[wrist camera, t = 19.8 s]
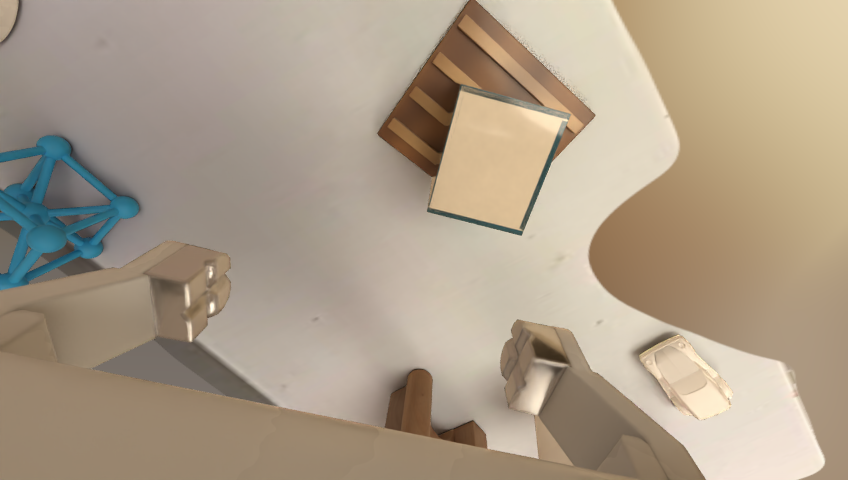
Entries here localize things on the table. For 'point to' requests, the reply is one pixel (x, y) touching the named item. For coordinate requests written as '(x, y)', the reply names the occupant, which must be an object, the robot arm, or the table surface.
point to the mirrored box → (493, 158)
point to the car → (687, 378)
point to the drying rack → (477, 66)
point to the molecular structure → (53, 214)
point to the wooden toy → (425, 413)
